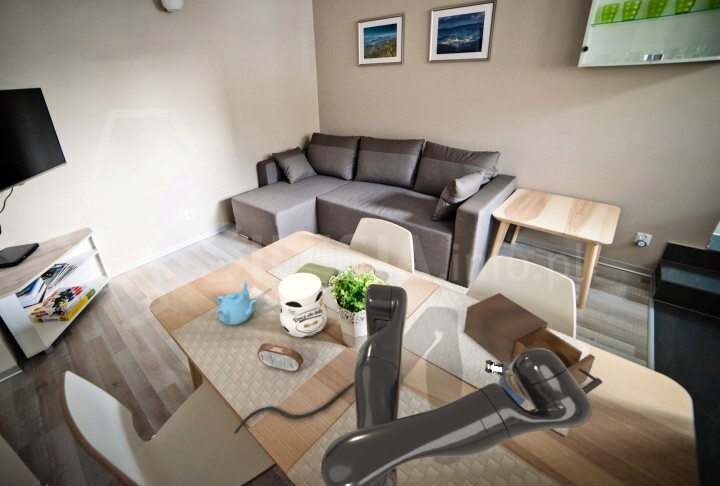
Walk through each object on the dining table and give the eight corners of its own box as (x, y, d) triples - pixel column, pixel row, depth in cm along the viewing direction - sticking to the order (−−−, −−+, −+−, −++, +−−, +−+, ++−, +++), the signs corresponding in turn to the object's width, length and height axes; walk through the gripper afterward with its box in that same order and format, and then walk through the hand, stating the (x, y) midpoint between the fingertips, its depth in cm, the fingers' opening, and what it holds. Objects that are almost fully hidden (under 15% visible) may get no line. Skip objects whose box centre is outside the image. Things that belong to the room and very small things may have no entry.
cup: (513, 409, 75) (518, 387, 71) (491, 389, 80) (495, 367, 76) (530, 398, 77) (537, 376, 73) (508, 379, 82) (513, 358, 78)
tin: (304, 368, 103) (302, 348, 100) (301, 376, 101) (298, 356, 97) (262, 358, 108) (258, 339, 105) (258, 365, 106) (254, 346, 102)
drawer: (603, 392, 88) (613, 368, 84) (571, 414, 83) (580, 390, 79) (532, 342, 104) (538, 321, 100) (502, 359, 99) (507, 337, 96)
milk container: (311, 349, 110) (306, 307, 103) (272, 331, 119) (264, 292, 111) (336, 317, 123) (333, 277, 116) (299, 303, 132) (294, 266, 124)
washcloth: (306, 265, 158) (306, 259, 156) (339, 273, 150) (339, 267, 148) (291, 280, 147) (291, 274, 146) (326, 289, 139) (325, 283, 138)
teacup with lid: (369, 296, 133) (369, 272, 128) (349, 289, 138) (348, 266, 133) (381, 280, 142) (381, 257, 137) (362, 275, 147) (361, 252, 142)
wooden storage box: (540, 349, 103) (548, 323, 98) (507, 368, 98) (514, 341, 93) (494, 317, 117) (499, 292, 112) (463, 332, 112) (467, 307, 107)
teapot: (216, 310, 133) (211, 289, 128) (253, 299, 137) (248, 278, 133) (220, 334, 120) (214, 312, 116) (260, 320, 125) (256, 299, 120)
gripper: (484, 386, 65) (478, 379, 79) (572, 413, 59) (549, 400, 73) (488, 347, 67) (482, 347, 81) (574, 369, 61) (551, 365, 75)
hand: (514, 372), depth 77 cm, fingers closed on cup, 6 cm apart
